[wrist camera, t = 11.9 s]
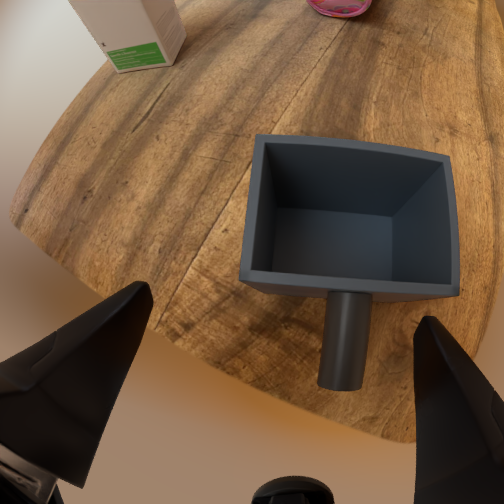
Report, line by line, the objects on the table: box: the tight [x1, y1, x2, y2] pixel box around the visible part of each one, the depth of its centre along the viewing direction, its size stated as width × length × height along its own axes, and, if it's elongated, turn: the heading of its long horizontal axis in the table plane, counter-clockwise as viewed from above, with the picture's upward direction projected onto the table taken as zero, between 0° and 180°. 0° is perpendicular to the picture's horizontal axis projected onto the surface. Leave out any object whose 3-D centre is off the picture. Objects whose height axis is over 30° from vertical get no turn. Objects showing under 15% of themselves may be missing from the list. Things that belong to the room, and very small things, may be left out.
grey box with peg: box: [239, 134, 460, 391], centre depth 17 cm, size 12×10×10 cm
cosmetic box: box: [68, 0, 187, 73], centre depth 22 cm, size 8×7×16 cm
